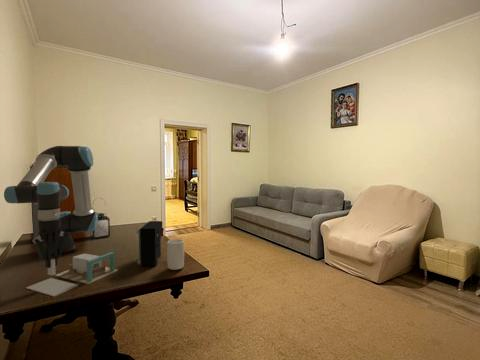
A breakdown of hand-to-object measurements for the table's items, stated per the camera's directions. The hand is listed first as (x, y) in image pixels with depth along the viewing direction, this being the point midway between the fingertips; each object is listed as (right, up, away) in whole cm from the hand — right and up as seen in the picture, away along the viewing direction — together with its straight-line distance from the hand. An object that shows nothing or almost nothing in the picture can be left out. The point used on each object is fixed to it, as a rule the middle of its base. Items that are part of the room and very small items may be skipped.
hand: (51, 274), depth 109 cm
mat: (0, -6, 0) cm, 6 cm away
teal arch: (+15, -5, +12) cm, 20 cm away
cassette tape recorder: (-58, -2, +72) cm, 93 cm away
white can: (+47, -5, +21) cm, 52 cm away
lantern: (-23, -1, +81) cm, 84 cm away
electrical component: (+31, -5, +32) cm, 45 cm away
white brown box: (+6, -4, +15) cm, 17 cm away
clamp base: (+6, -5, +15) cm, 17 cm away
